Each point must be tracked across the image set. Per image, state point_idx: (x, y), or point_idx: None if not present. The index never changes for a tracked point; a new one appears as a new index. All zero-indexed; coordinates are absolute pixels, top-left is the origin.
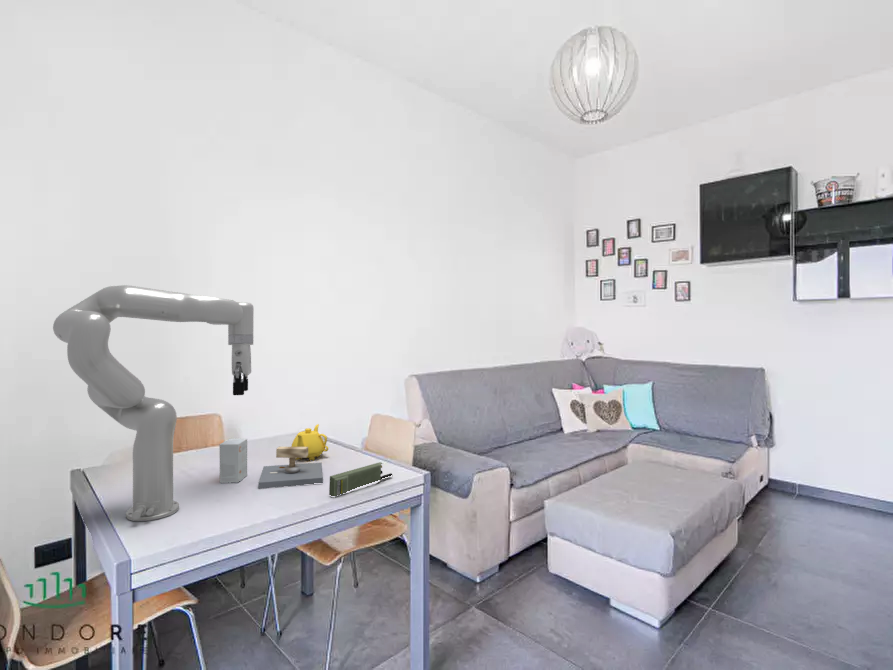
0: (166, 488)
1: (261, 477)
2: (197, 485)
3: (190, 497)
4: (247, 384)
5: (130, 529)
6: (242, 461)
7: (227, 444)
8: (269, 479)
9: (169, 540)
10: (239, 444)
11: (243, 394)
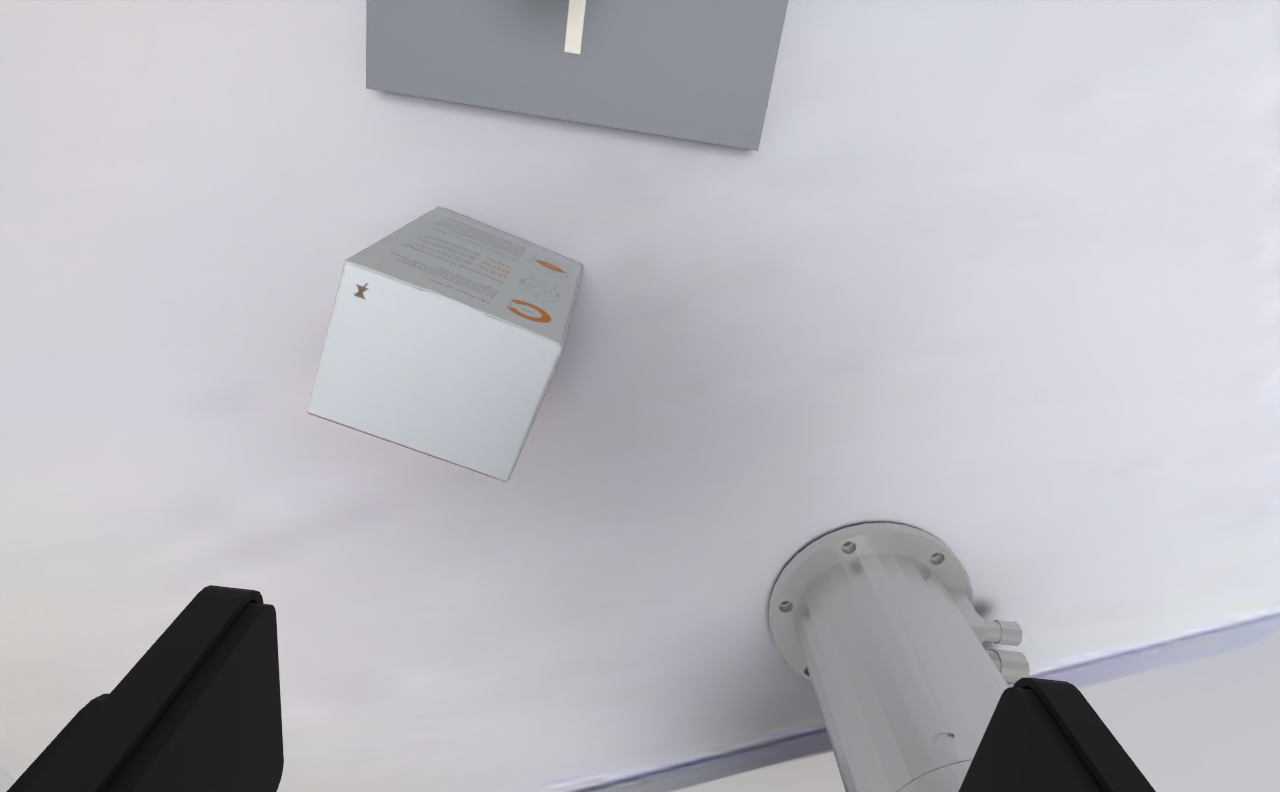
0: (975, 639)
1: (651, 123)
2: (545, 470)
3: (732, 488)
4: (133, 731)
5: (1010, 648)
6: (504, 265)
7: (529, 425)
8: (721, 69)
9: (1218, 521)
10: (537, 330)
11: (1067, 686)
